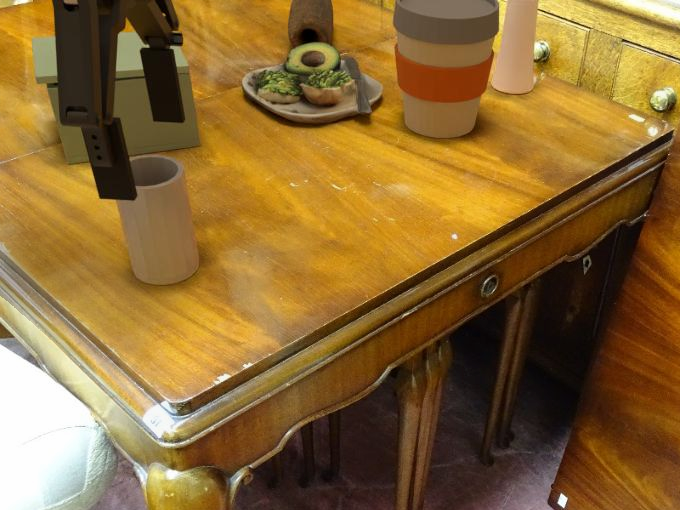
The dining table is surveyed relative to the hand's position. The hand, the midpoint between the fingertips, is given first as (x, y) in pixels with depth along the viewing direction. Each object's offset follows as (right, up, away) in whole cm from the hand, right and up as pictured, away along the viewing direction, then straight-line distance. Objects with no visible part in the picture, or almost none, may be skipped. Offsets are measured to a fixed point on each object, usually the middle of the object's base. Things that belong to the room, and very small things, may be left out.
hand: (146, 156), depth 65 cm
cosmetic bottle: (+36, +19, +44) cm, 60 cm away
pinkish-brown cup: (-1, -9, +7) cm, 11 cm away
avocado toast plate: (+9, +16, +38) cm, 42 cm away
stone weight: (+6, +28, +53) cm, 60 cm away
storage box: (-12, +9, +27) cm, 31 cm away
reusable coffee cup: (+25, +11, +34) cm, 44 cm away
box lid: (-12, +16, +21) cm, 29 cm away
